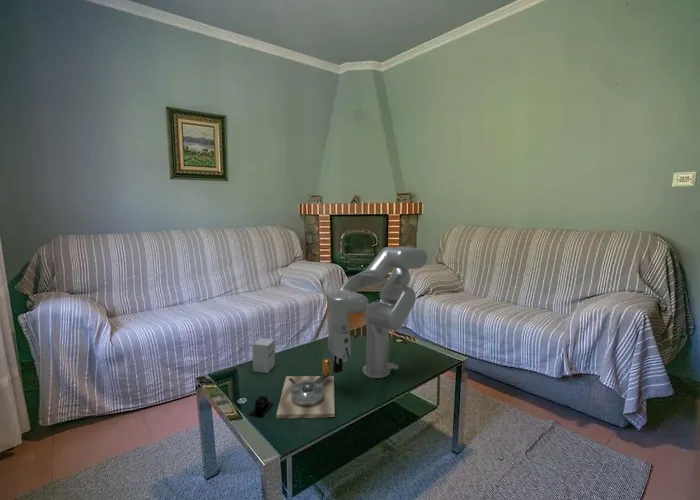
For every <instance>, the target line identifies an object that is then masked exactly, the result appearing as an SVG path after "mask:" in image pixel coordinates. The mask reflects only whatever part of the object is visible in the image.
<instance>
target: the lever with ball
mask: <svg viewBox="0 0 700 500" xmlns="http://www.w3.org/2000/svg"><path fill="white" fill-rule="evenodd" d="M321 362H322V366H321V369H322V371H321V375H319V376H320V377H319V378H318V379H317V380H316V381H314V382H311V381H308V379H307V380H302V382H301V383H298V384H296V385H295V386H293V388H292V390H291V400H292V402H293V403H294V404H296V405H298V406H302V407H310V406H314V405H317V404H319V403H320V402H321V401H322V400H323V398H324V388H323V386H322V382H323V381H324V380H325V379H326V378H328V377H329V376H332V359H331V358H329V357H325V358H323V359H322V361H321Z"/></svg>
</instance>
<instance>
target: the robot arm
mask: <svg viewBox="0 0 700 500" xmlns="http://www.w3.org/2000/svg"><path fill="white" fill-rule="evenodd" d="M427 262H428V253H427V252H426V251H425V249H422V248H416V247H410V246H397V247H393V246H386V247H383V248H382V249H381V250H380V251H379V252H378V253H377V255H376V256H375V257H374V259H373V260H372V261H371V262H370V263H369V265H368V267H367V268H365V269H364V270H362V271H360V272H359V273H357V274H355V275H353V276H351V277H350V278H349V279H347V280H346V281H345V282H344V284H342V286H341V287H340V288H339V290H338V291H337V293H336V294H334V295H332V296H331V297H330V299H329V330H328V336H327V350H328V352H329V353H330V354H331V357H332V362H333V370H332V371H333V372H334V373H335V374H337V373H341V372H343V365H344V364H343V363H346V362H348V361H349V360H348V357H351V355H352V342H351V333H350V332H349V331H350V330H349V328H350V324H349V323H350V322H349V321H350V314H360V313H363V312H364V316H365V322H366V348H365V349H366V350H365V351H366V353H365V354H366V355H365V357H366V358H365V365H364V366H362V370H361V371H362V373H363V375H364V376H365V377H368V378H370V379H375V378H382V377H385V376H387V375H389V374H390V372H392V370H399V365H398V364H395V362H389V339H390V337H389V336H390V335H389V334H390V333H389V331H390V330H391V331H397V330H399V329H400V328H401V327H402V326H403V325H404V323H405V321H406V320H407V318H408V316H409V314H410V313H411V311H412V309H413V307H414V305H415V303H416V297H417V295H416V292H415V290H414V289H413V288H412V287H410V286H408V284H409V283H410V281H411V274H410V271H409V270H415V269H421V268H423V267H425V265H426V264H427ZM391 270H392V273H391V275H390V277H389V278H388V279H387V281H386V282H385V285H384V286H383V288H382V289H381V291H380V295H379V297H380V299H381V301H382V302H379V301H372V302H370V303H369V299H368V297H367V296H366V295H364V294H362V293H359V292H358V291H359V290H361V289H363V288H365V287H370V286H376V285H378V284H382V283H383V281H384V280H385V279H386V277H387V276H388V274H389V273H390V272H391ZM383 302H384V303H383ZM390 375H391V374H390ZM390 375H389V376H390ZM382 379H383V378H382Z"/></svg>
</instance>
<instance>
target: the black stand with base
mask: <svg viewBox="0 0 700 500" xmlns="http://www.w3.org/2000/svg"><path fill="white" fill-rule="evenodd" d="M254 403H255V404H254V408H253V409H252V410H251V411H250V412H249V414H248V415H247V416H250V417H254V418H260V419H263V418H264V417H265V415H266V414H267V413H268V412H269V411H270V410H271V408H272V407H273V406H274V404H275V402H271V401H269V398H268V396H266V395H265V396H264V395H259V396H258V397H257V399H256V400H255V402H254Z"/></svg>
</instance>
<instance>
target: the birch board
mask: <svg viewBox="0 0 700 500" xmlns="http://www.w3.org/2000/svg"><path fill="white" fill-rule="evenodd" d="M320 376H321V375H319V376H318V375H313V376H312V375H310V376H309V375H303V376H302V375H300V376H298V375H295V376H293V375H291V376H290V375H288V376H285V378H284V379H285V380H284V383H283V387H282V389H281V390H282V391H281V395H280V400H279V403H278V406H277V411H276V417H275V418H276V419H328V418H327V417H335V413H336V412H335V410H336V409H335V376H334V375H330V376H329V377H328V378H326V379H325V380H324V381H323V382H322V386H323V388H324V398H323V400H322V401H321V402H320V403H319V404H317V405H314V406H310V407H302V406H298V405H296V404H294V403H293V402H292V400H291V390H292V388H293V386H295V385H296V384H298V383H301V382H302V380H307V379H308V381H311V382H314V381H316V380H317V379H318V378H319V377H320Z"/></svg>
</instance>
